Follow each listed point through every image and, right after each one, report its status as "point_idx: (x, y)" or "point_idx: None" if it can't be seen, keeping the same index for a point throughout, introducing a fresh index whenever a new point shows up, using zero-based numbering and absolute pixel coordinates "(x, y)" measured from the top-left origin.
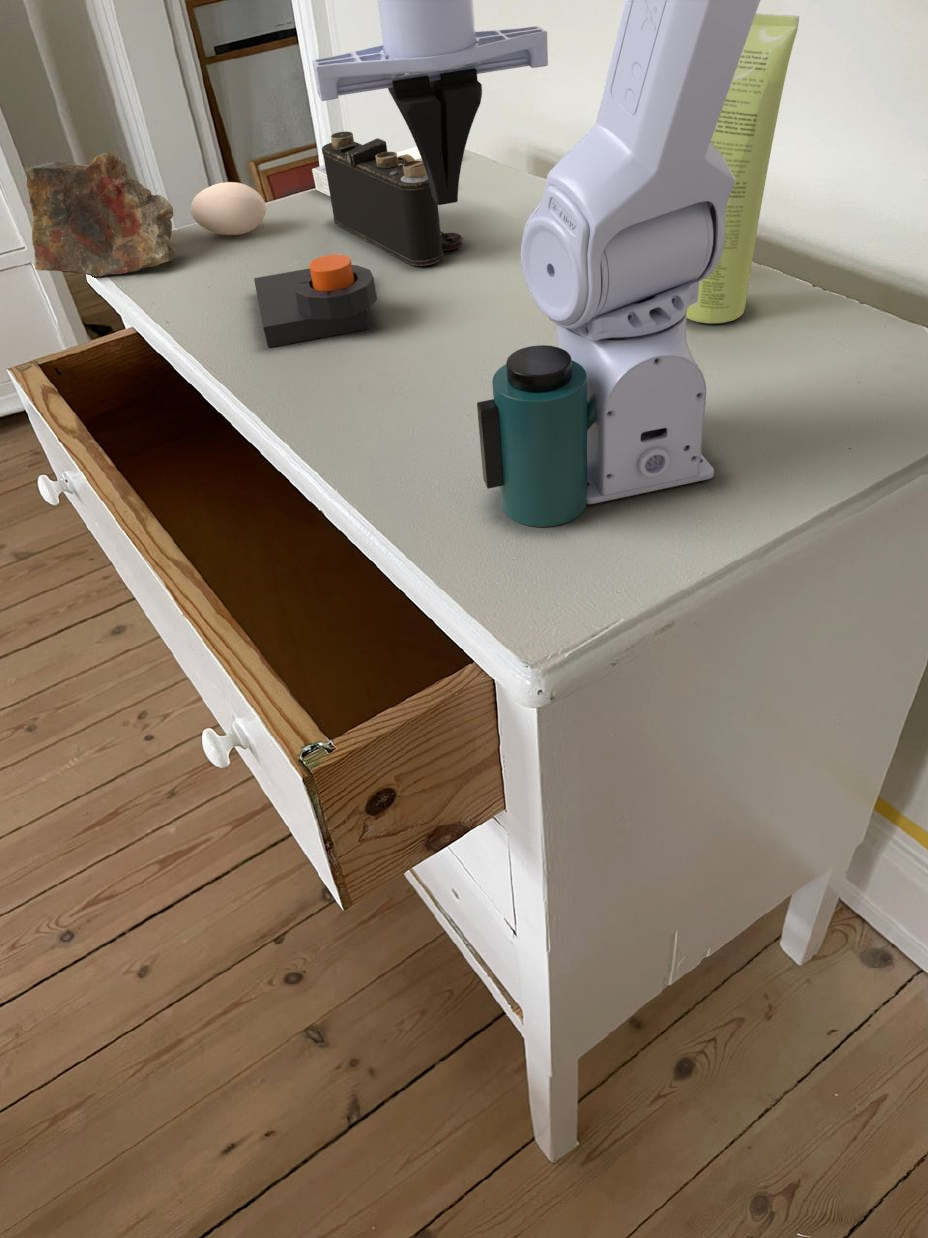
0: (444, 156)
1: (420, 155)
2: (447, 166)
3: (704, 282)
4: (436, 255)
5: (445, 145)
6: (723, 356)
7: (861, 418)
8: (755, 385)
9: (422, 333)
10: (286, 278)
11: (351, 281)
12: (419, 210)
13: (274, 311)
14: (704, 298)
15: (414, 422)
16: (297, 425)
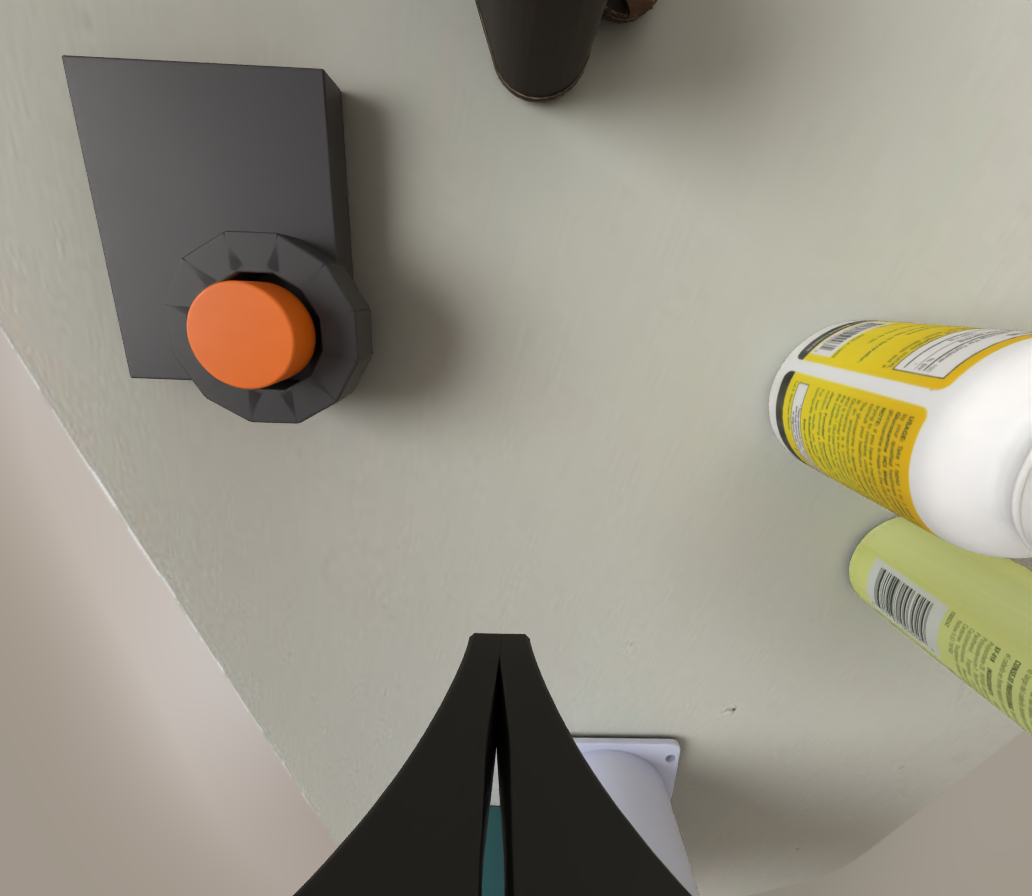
0: (504, 802)
1: (436, 712)
2: (501, 814)
3: (907, 635)
4: (564, 86)
5: (505, 870)
6: (819, 671)
7: (847, 817)
8: (803, 737)
9: (451, 435)
10: (156, 112)
11: (305, 362)
12: (540, 30)
13: (146, 310)
14: (887, 619)
15: (390, 674)
16: (231, 628)
